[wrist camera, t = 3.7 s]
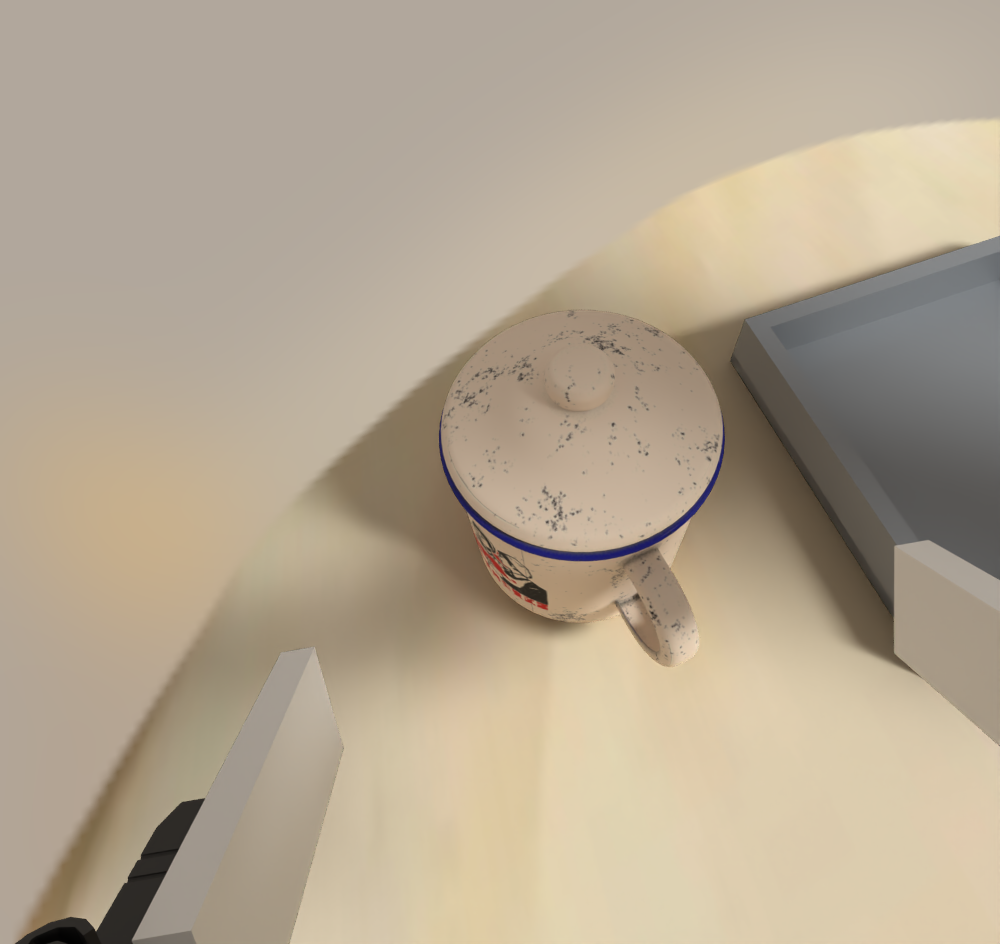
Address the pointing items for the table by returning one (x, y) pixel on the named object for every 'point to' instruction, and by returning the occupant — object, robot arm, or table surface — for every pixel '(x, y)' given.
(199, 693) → the table surface
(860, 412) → the tray
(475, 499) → the teacup with lid
